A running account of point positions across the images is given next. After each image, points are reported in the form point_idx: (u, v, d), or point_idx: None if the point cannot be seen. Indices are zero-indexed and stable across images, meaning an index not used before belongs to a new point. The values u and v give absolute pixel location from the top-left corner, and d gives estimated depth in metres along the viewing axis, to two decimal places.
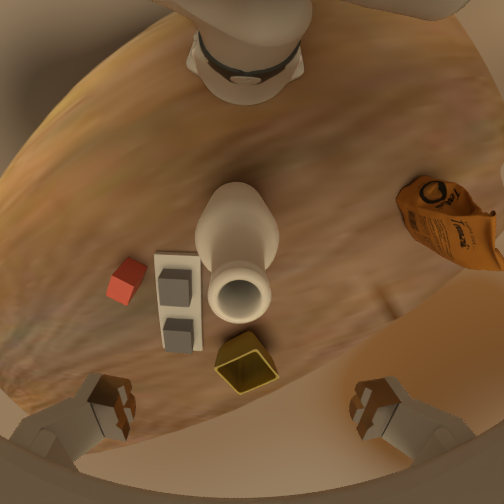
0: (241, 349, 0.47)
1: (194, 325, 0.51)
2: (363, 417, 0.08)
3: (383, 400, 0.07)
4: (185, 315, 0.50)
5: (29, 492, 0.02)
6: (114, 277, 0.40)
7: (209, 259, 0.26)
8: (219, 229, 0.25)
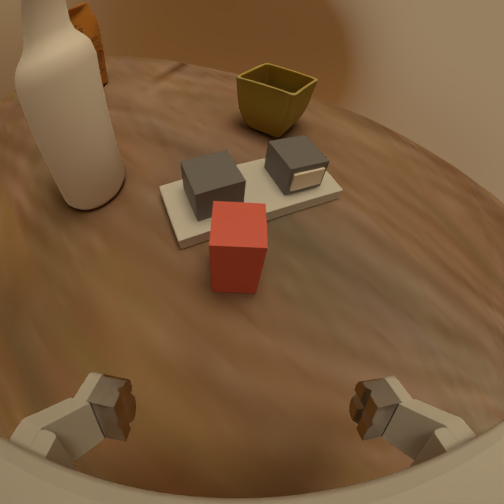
0: (253, 93, 0.33)
1: None
2: (363, 417, 0.08)
3: (383, 400, 0.07)
4: (263, 176, 0.32)
5: (29, 492, 0.02)
6: (211, 239, 0.19)
7: (55, 41, 0.13)
8: (26, 50, 0.12)
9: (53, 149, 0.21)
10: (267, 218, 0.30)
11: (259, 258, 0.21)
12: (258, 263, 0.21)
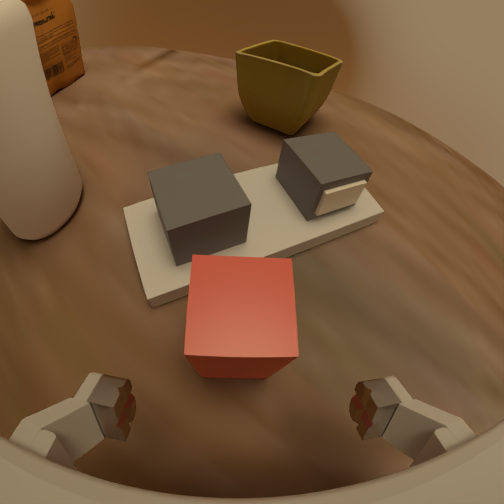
0: (259, 74, 0.23)
1: None
2: (363, 417, 0.08)
3: (383, 400, 0.07)
4: (274, 190, 0.22)
5: (29, 492, 0.02)
6: (187, 340, 0.09)
7: None
8: None
9: None
10: (282, 256, 0.20)
11: (280, 363, 0.11)
12: (276, 365, 0.11)
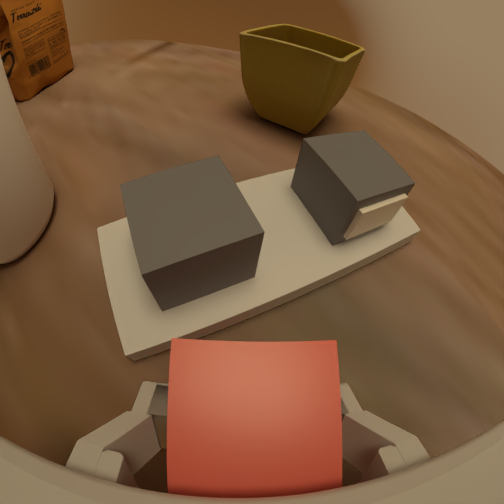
0: (268, 58, 0.18)
1: None
2: None
3: None
4: (290, 205, 0.17)
5: (29, 492, 0.02)
6: (171, 478, 0.04)
7: None
8: None
9: None
10: (301, 293, 0.15)
11: None
12: None
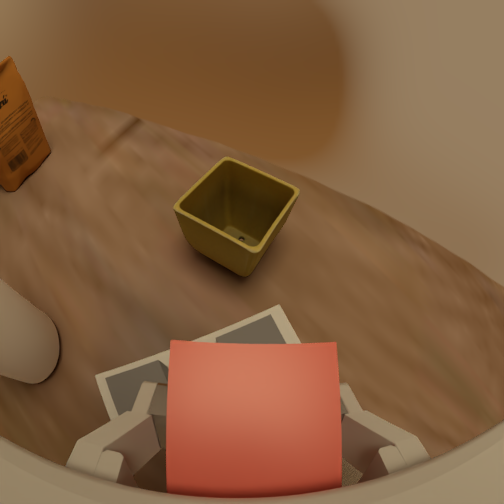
0: (199, 233, 0.25)
1: None
2: None
3: None
4: None
5: (29, 492, 0.02)
6: (171, 480, 0.04)
7: None
8: None
9: None
10: None
11: None
12: None
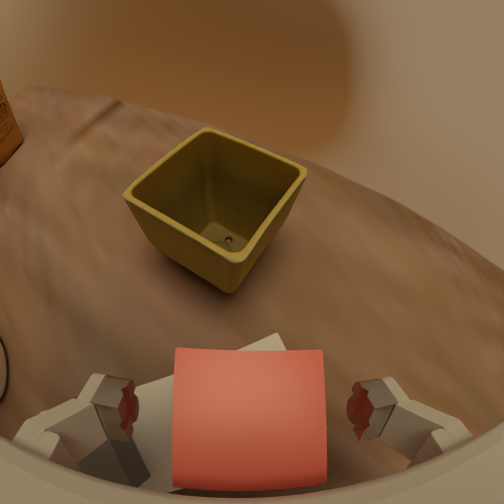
0: (159, 231, 0.17)
1: None
2: (360, 418, 0.08)
3: (380, 401, 0.07)
4: None
5: (29, 492, 0.02)
6: (176, 471, 0.05)
7: None
8: None
9: None
10: None
11: None
12: None
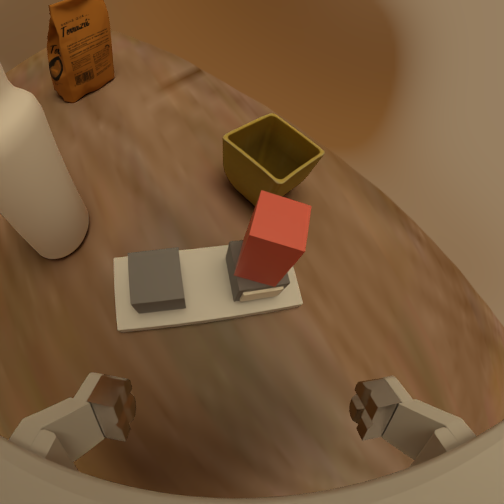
0: (237, 161, 0.30)
1: None
2: (363, 417, 0.08)
3: (383, 400, 0.07)
4: (219, 270, 0.30)
5: (29, 492, 0.02)
6: (252, 229, 0.19)
7: None
8: None
9: (8, 219, 0.19)
10: (209, 321, 0.29)
11: (292, 258, 0.21)
12: (289, 262, 0.21)
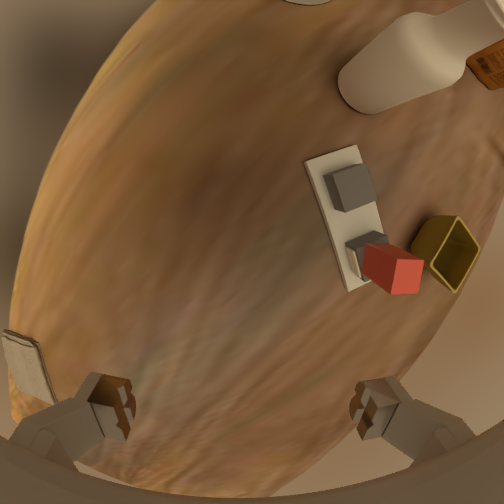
0: (441, 229, 0.33)
1: None
2: (363, 417, 0.08)
3: (383, 400, 0.07)
4: (364, 228, 0.38)
5: (29, 492, 0.02)
6: (400, 260, 0.27)
7: (435, 49, 0.15)
8: (427, 21, 0.14)
9: (364, 58, 0.25)
10: (327, 227, 0.39)
11: (384, 286, 0.29)
12: (381, 284, 0.30)
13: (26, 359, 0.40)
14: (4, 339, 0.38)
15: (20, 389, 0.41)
